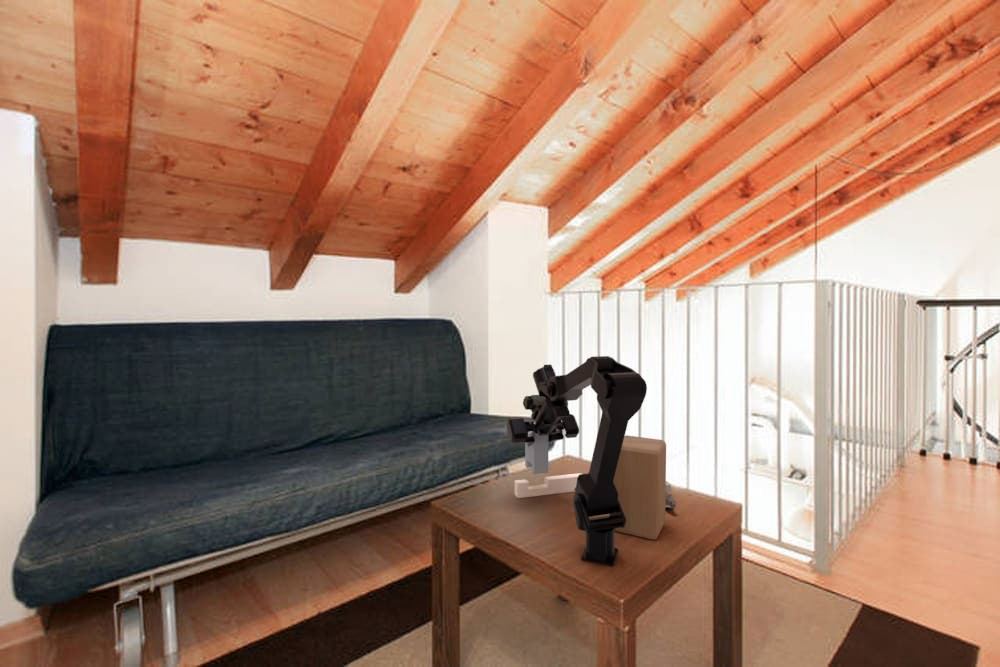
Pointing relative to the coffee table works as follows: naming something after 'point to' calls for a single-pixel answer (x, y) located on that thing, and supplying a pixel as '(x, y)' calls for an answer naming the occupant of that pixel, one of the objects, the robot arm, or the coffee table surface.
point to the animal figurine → (669, 501)
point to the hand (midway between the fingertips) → (534, 444)
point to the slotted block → (537, 454)
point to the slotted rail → (547, 486)
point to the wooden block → (642, 485)
